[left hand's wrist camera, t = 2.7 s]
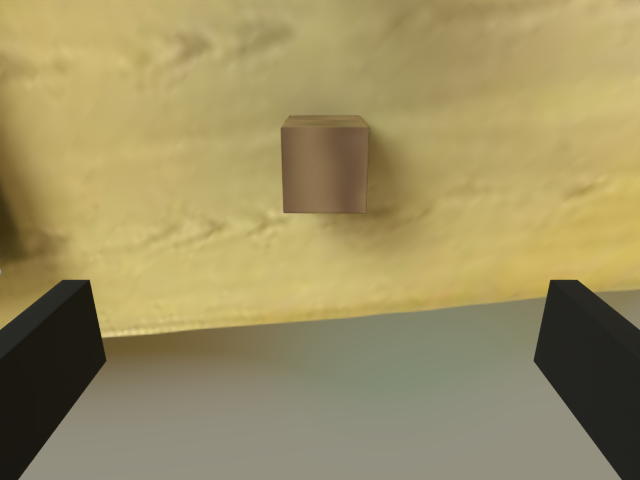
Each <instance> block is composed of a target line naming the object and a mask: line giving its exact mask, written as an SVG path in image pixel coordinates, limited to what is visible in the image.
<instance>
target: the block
mask: <svg viewBox="0 0 640 480" xmlns="http://www.w3.org/2000/svg"><path fill="white" fill-rule="evenodd" d="M369 129H370V128H369V127H368V125H367V124H366V123H365V122H364V120H363V119H362V118H361V117H360V116H289V117H288V119H287V120H286V121H285V123H284V124H283V126H282V127H281V150H282V182H283V212H284V213H366V204H367V179H368V154H369Z"/></svg>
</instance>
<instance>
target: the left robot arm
mask: <svg viewBox="0 0 640 480" xmlns="http://www.w3.org/2000/svg"><path fill="white" fill-rule="evenodd" d="M105 362H106V357H105V352H104V347H103V342H102V337H101V332H100V328H99V323H98V318H97V313H96V308H95V304H94V299H93V294H92V289H91V284H90V280H62V281H61V282H59V283H58V284H57V285H56V286H54V287H53V288H52V289H51V290H49V291H48V292H47V293H46V294H45V295H43V296H42V297H41V298H40V299H38V300H37V301H36V302H35V303H33V304H32V305H31V306H30V307H28V308H27V309H26V310H25V311H23V312H22V313H21V314H20V315H18V316H17V317H16V318H15V319H13V320H12V321H11V322H10V323H8V324H7V325H6V326H5V327H3V328H2V329H1V330H0V480H18V479H19V478H20V477H21V475H22V474H23V472H24V471H25V470H26V468H27V467H28V466H29V464H30V463H31V462H32V460H33V459H34V458H35V456H36V455H37V454H38V452H39V451H40V450H41V448H42V447H43V446H44V444H45V443H46V441H47V440H48V439H49V437H50V436H51V435H52V433H53V432H54V431H55V429H56V428H57V427H58V425H59V424H60V423H61V421H62V420H63V419H64V417H65V416H66V415H67V413H68V412H69V411H70V409H71V408H72V406H73V405H74V404H75V402H76V401H77V400H78V398H79V397H80V396H81V394H82V393H83V392H84V390H85V389H86V387H87V386H88V385H89V384H90V382H91V381H92V379H93V378H94V377H95V375H96V374H97V373H98V371H99V370H100V369H101V367H102V366H103V365H104V363H105ZM534 362H535V363H536V365H537V366H538V367H539V369H540V370H541V371H542V373H543V374H544V375H545V377H546V378H547V379H548V381H549V382H550V384H551V385H552V386H553V388H554V389H555V390H556V392H557V393H558V394H559V396H560V397H561V398H562V400H563V401H564V402H565V404H566V405H567V406H568V408H569V409H570V410H571V412H572V413H573V415H574V416H575V417H576V419H577V420H578V421H579V423H580V424H581V425H582V427H583V428H584V429H585V431H586V432H587V433H588V435H589V436H590V437H591V439H592V440H593V441H594V443H595V444H596V446H597V447H598V448H599V449H600V451H601V452H602V454H603V455H604V456H605V458H606V459H607V460H608V462H609V463H610V464H611V466H612V467H613V468H614V470H615V471H616V472H617V474H618V475H619V477H620V478H621V479H622V480H640V330H639V329H638V328H637V327H635V326H634V325H633V324H632V323H630V322H629V321H628V320H627V319H625V318H624V317H623V316H622V315H620V314H619V313H618V312H617V311H615V310H614V309H613V308H612V307H610V306H609V305H608V304H607V303H605V302H604V301H603V300H602V299H600V298H599V297H598V296H597V295H595V294H594V293H593V292H592V291H591V290H589V289H588V288H587V287H586V286H584V285H583V284H582V283H581V282H579V281H578V280H550V284H549V289H548V294H547V299H546V304H545V308H544V313H543V318H542V323H541V328H540V332H539V337H538V342H537V347H536V352H535V357H534Z"/></svg>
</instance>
